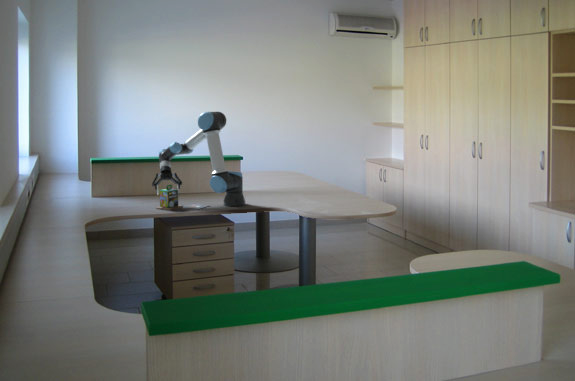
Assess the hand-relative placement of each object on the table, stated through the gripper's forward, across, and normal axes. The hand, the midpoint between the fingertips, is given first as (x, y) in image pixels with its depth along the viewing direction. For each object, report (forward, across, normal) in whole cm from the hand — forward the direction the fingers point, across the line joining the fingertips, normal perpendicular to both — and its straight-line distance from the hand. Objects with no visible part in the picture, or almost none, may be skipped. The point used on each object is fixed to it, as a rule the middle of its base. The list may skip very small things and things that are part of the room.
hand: (168, 193), depth 432 cm
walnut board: (+10, 0, -3) cm, 10 cm away
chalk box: (+9, 0, -3) cm, 10 cm away
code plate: (+11, -18, -2) cm, 21 cm away
